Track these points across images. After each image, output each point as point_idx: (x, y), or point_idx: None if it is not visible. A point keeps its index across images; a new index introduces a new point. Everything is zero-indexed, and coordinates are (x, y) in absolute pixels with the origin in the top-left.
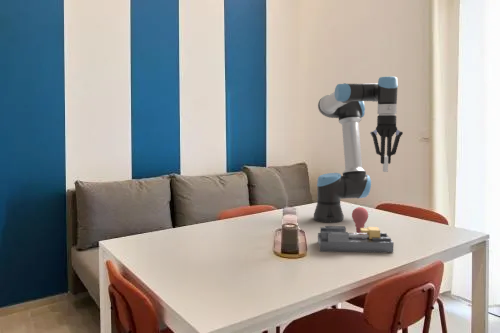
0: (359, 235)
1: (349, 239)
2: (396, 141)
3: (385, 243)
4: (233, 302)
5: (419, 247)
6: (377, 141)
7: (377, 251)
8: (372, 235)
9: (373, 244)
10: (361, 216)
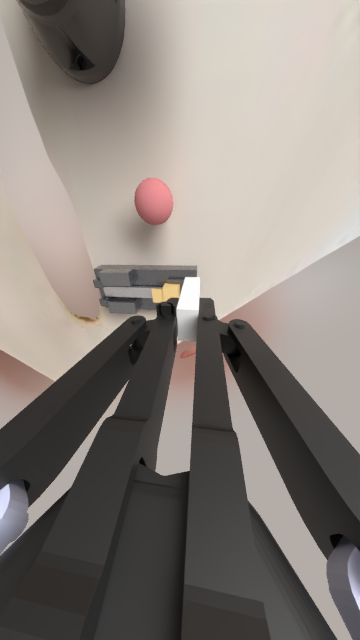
0: (152, 297)
1: (140, 299)
2: (271, 443)
3: None
4: None
5: (239, 283)
6: (93, 423)
7: None
8: None
9: None
10: (155, 224)
